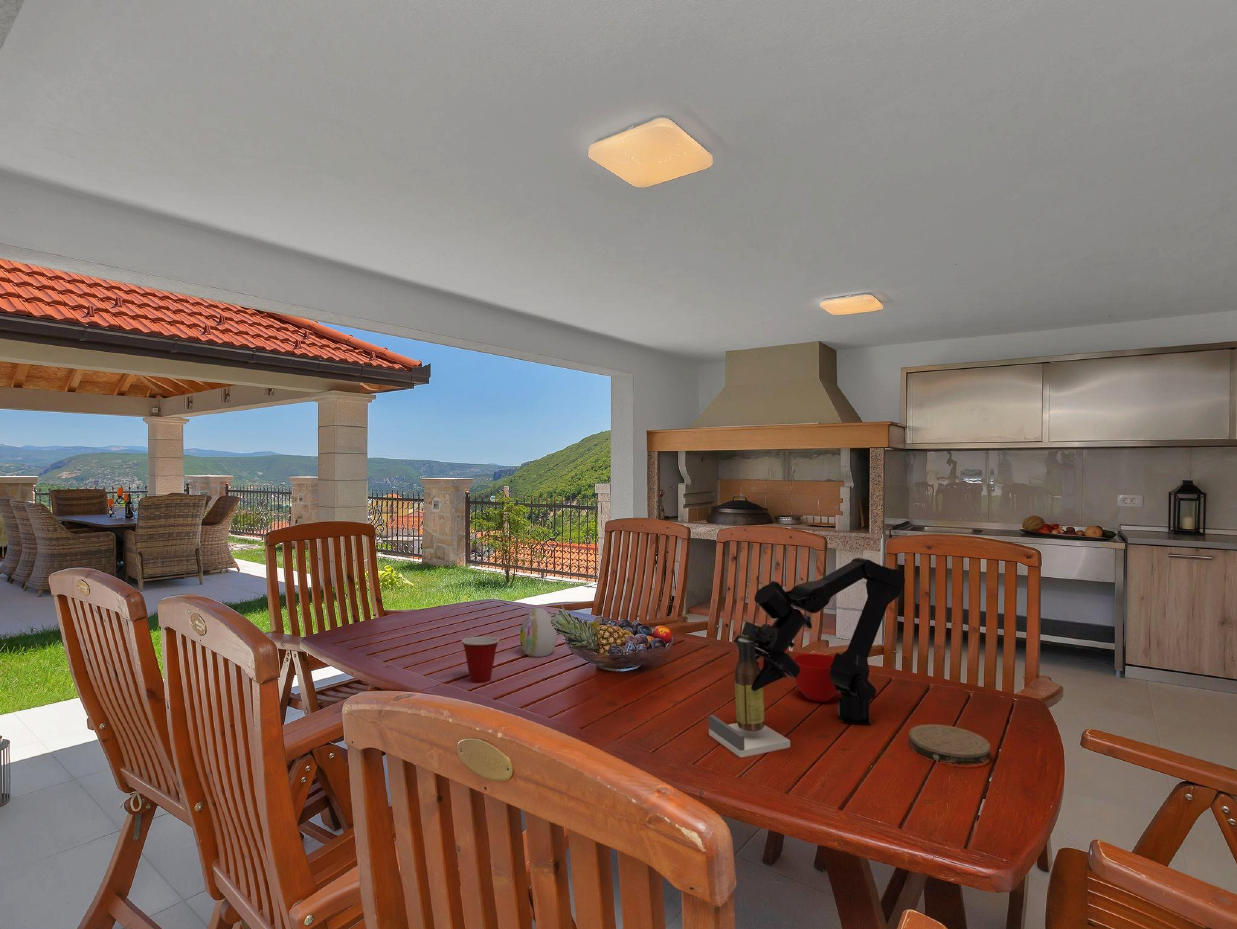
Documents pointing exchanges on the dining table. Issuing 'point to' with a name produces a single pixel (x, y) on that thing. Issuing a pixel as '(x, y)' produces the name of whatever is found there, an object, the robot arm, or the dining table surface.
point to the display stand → (746, 738)
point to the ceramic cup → (815, 676)
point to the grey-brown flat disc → (949, 744)
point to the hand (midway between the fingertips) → (744, 685)
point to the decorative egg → (538, 634)
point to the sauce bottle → (748, 688)
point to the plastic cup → (480, 657)
